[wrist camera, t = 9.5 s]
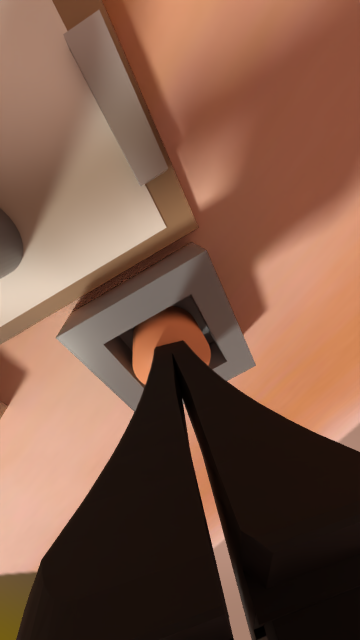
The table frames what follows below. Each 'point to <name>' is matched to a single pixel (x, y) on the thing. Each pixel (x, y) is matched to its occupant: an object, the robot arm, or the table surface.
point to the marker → (9, 245)
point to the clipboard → (76, 159)
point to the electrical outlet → (2, 408)
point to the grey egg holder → (146, 301)
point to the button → (166, 338)
